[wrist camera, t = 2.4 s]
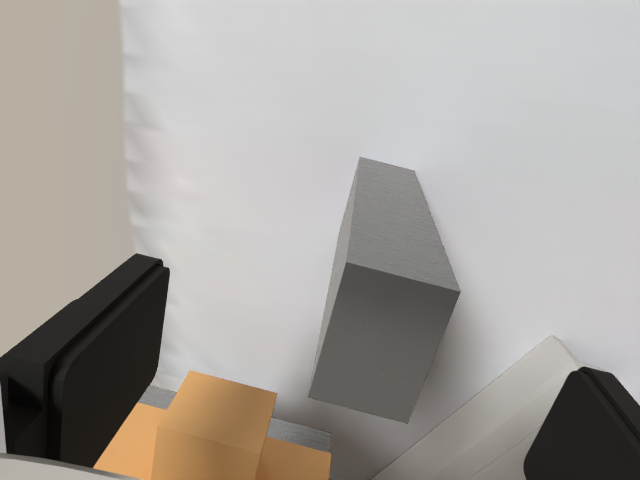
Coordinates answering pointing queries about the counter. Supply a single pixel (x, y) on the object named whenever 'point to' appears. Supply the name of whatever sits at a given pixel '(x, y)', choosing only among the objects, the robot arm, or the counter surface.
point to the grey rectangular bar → (383, 297)
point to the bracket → (209, 438)
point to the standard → (276, 427)
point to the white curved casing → (492, 423)
